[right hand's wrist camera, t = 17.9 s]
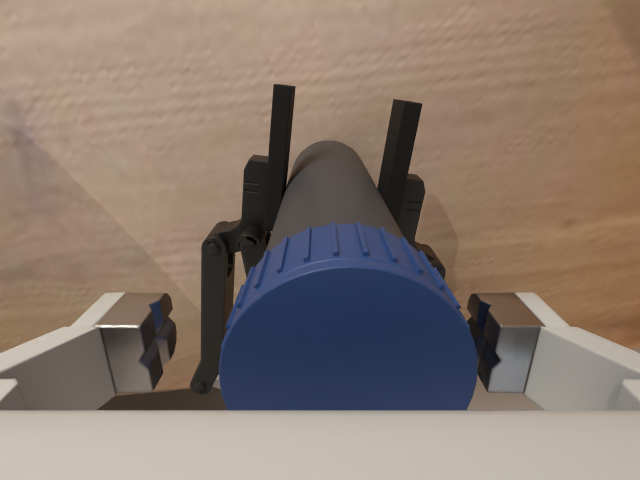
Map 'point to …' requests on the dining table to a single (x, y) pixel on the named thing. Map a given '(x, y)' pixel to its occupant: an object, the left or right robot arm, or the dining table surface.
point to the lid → (346, 328)
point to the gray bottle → (330, 194)
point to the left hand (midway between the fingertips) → (346, 94)
